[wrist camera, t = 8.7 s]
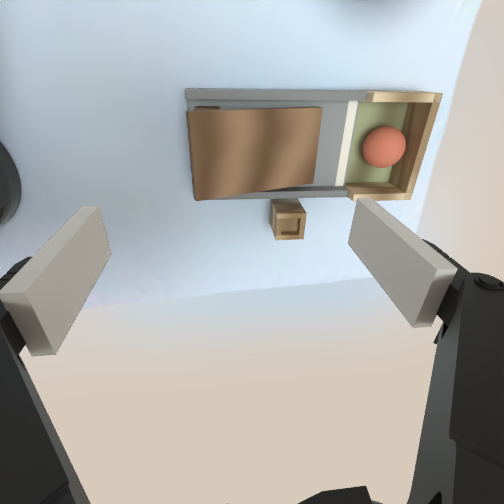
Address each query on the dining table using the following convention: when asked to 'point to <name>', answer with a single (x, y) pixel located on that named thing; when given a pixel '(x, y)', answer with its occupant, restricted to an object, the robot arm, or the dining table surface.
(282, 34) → the dining table surface
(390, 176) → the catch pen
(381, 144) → the ball
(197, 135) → the ramp
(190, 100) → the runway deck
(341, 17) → the dining table surface
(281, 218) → the hollow wooden block
